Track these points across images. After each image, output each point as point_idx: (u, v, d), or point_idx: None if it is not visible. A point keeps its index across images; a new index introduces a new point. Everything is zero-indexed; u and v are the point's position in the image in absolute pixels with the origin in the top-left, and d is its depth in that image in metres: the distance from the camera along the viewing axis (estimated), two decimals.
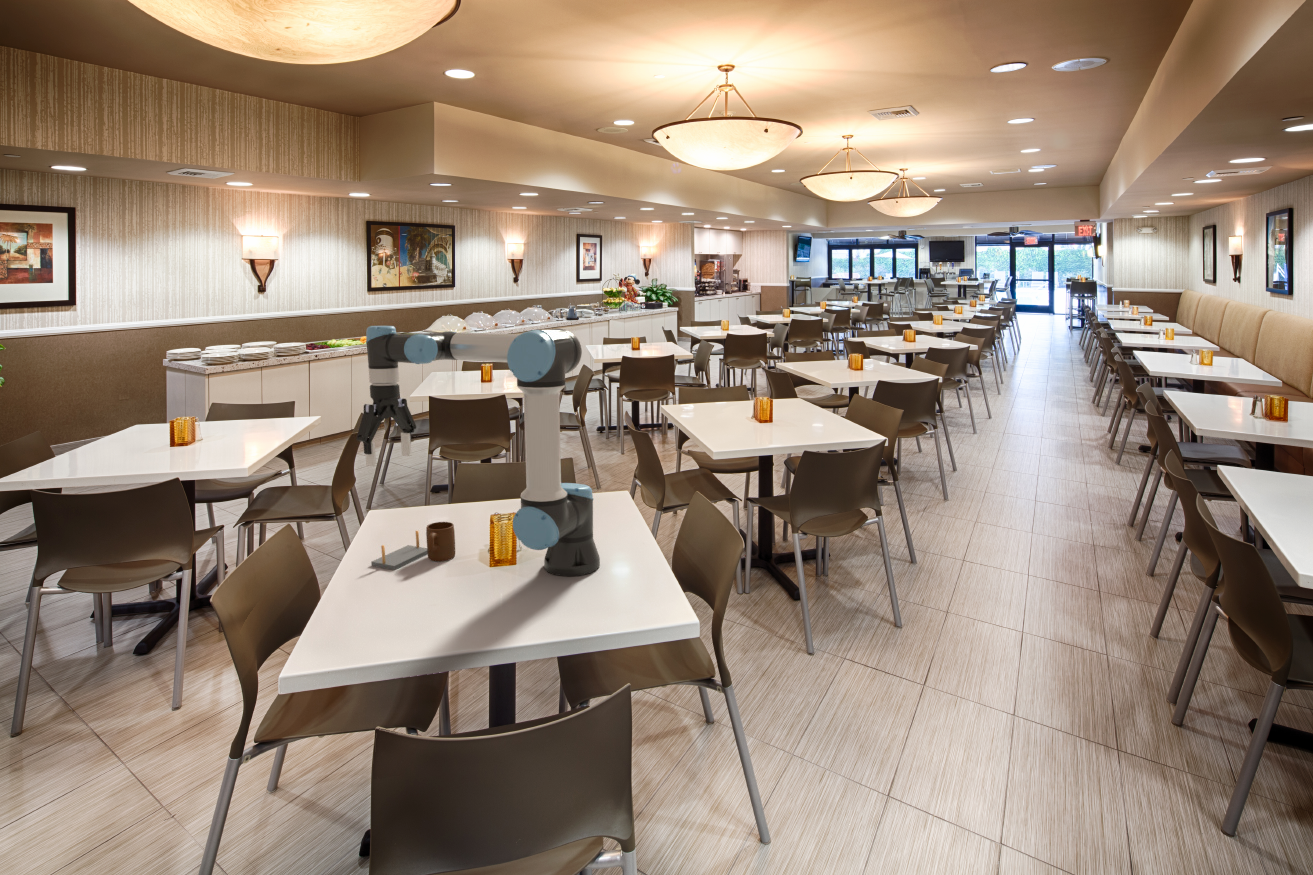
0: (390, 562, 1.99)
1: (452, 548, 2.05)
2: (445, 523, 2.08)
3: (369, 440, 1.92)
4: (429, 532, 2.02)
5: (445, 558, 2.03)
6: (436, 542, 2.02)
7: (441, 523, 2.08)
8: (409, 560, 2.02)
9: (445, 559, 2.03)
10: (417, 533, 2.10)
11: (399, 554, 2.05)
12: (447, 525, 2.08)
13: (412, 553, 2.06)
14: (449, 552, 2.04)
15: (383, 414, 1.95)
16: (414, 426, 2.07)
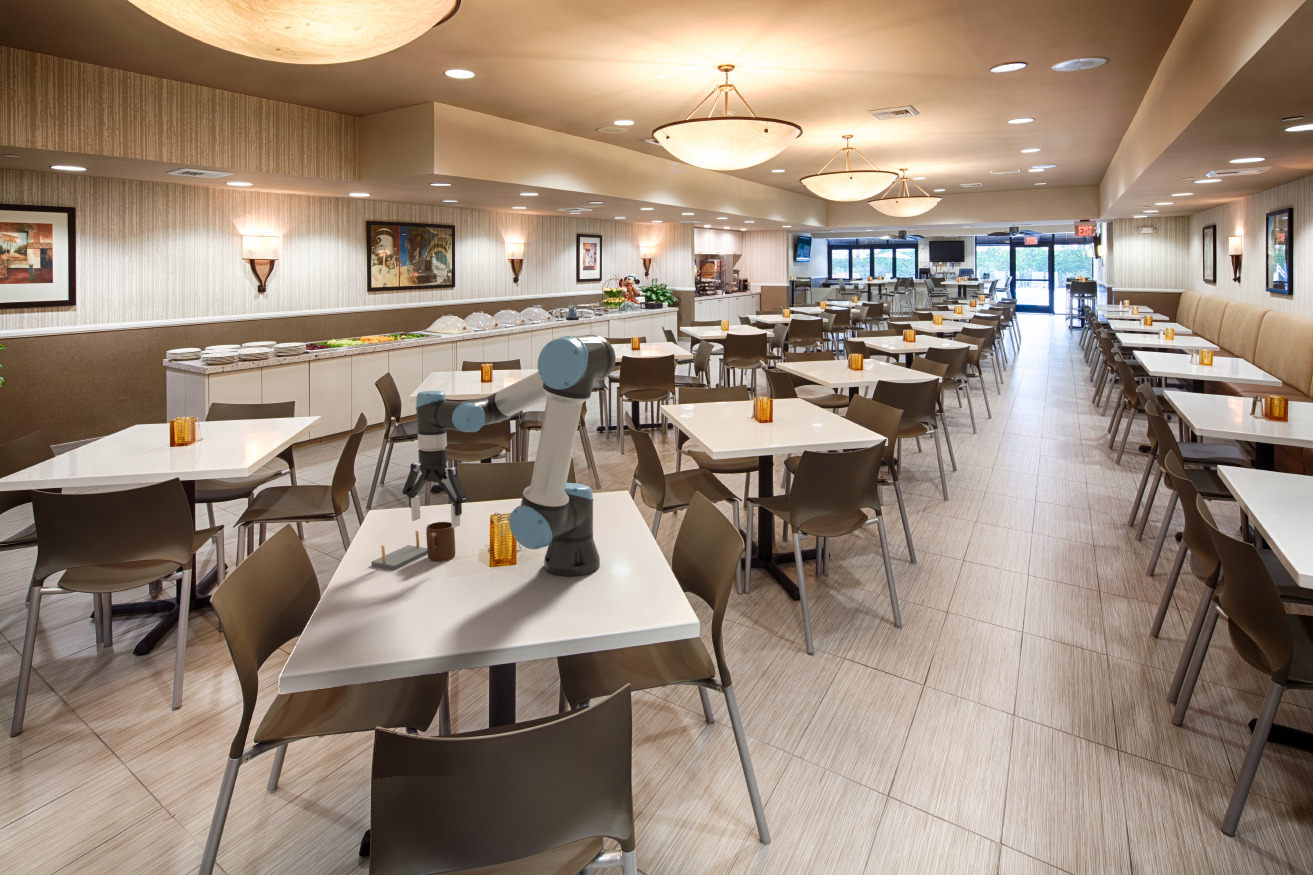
0: (390, 562, 1.99)
1: (452, 548, 2.05)
2: (445, 523, 2.08)
3: (408, 495, 2.03)
4: (429, 532, 2.02)
5: (445, 558, 2.03)
6: (436, 542, 2.02)
7: (441, 523, 2.08)
8: (409, 560, 2.02)
9: (445, 559, 2.03)
10: (417, 533, 2.10)
11: (399, 554, 2.05)
12: (447, 525, 2.08)
13: (412, 553, 2.06)
14: (449, 552, 2.04)
15: (421, 476, 1.99)
16: (459, 500, 1.96)
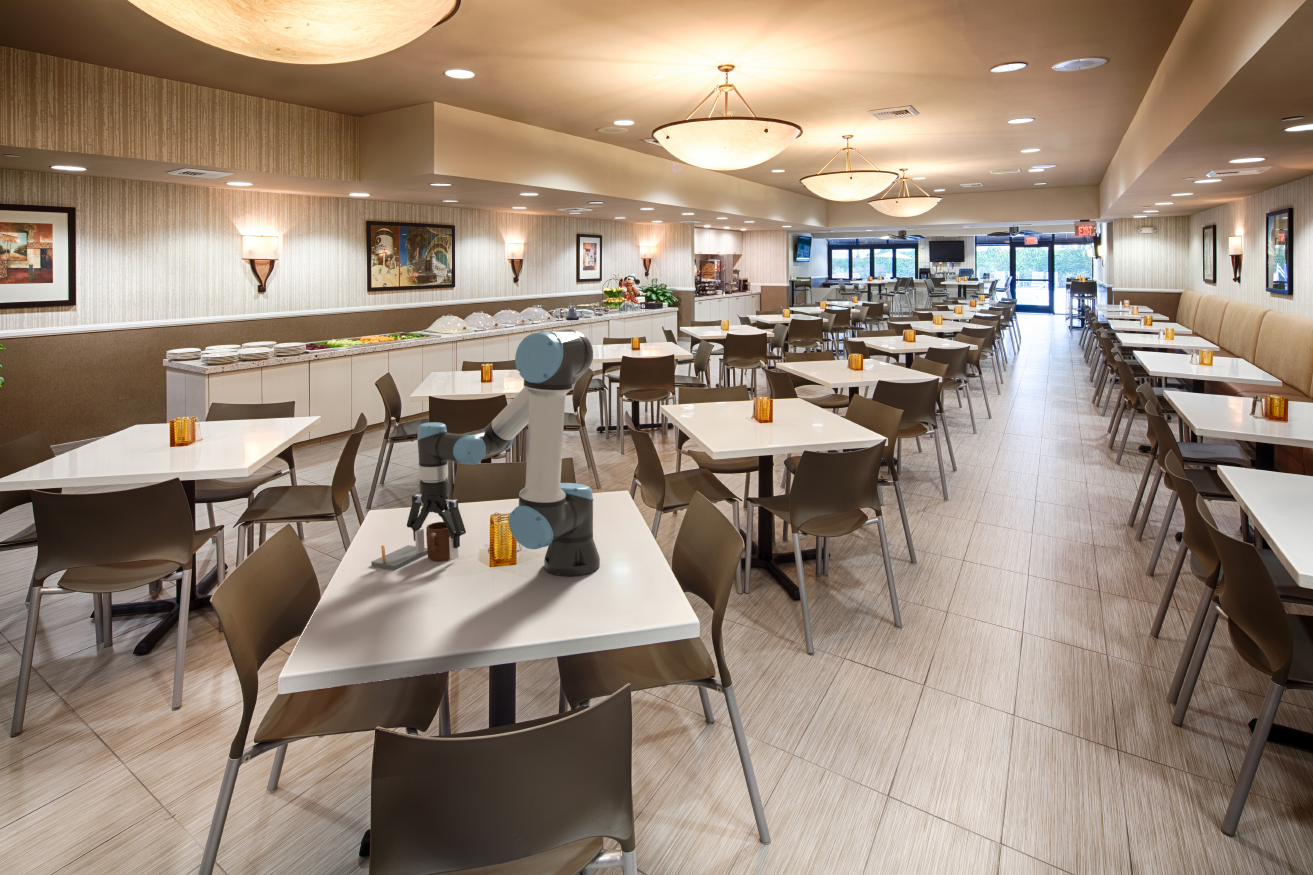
0: (390, 562, 1.99)
1: None
2: None
3: (412, 528, 2.04)
4: (429, 532, 2.02)
5: (445, 558, 2.03)
6: (436, 542, 2.02)
7: (441, 523, 2.08)
8: (409, 560, 2.02)
9: (445, 559, 2.03)
10: None
11: (399, 554, 2.05)
12: None
13: (412, 553, 2.06)
14: (449, 552, 2.04)
15: (423, 507, 2.01)
16: (458, 533, 1.98)
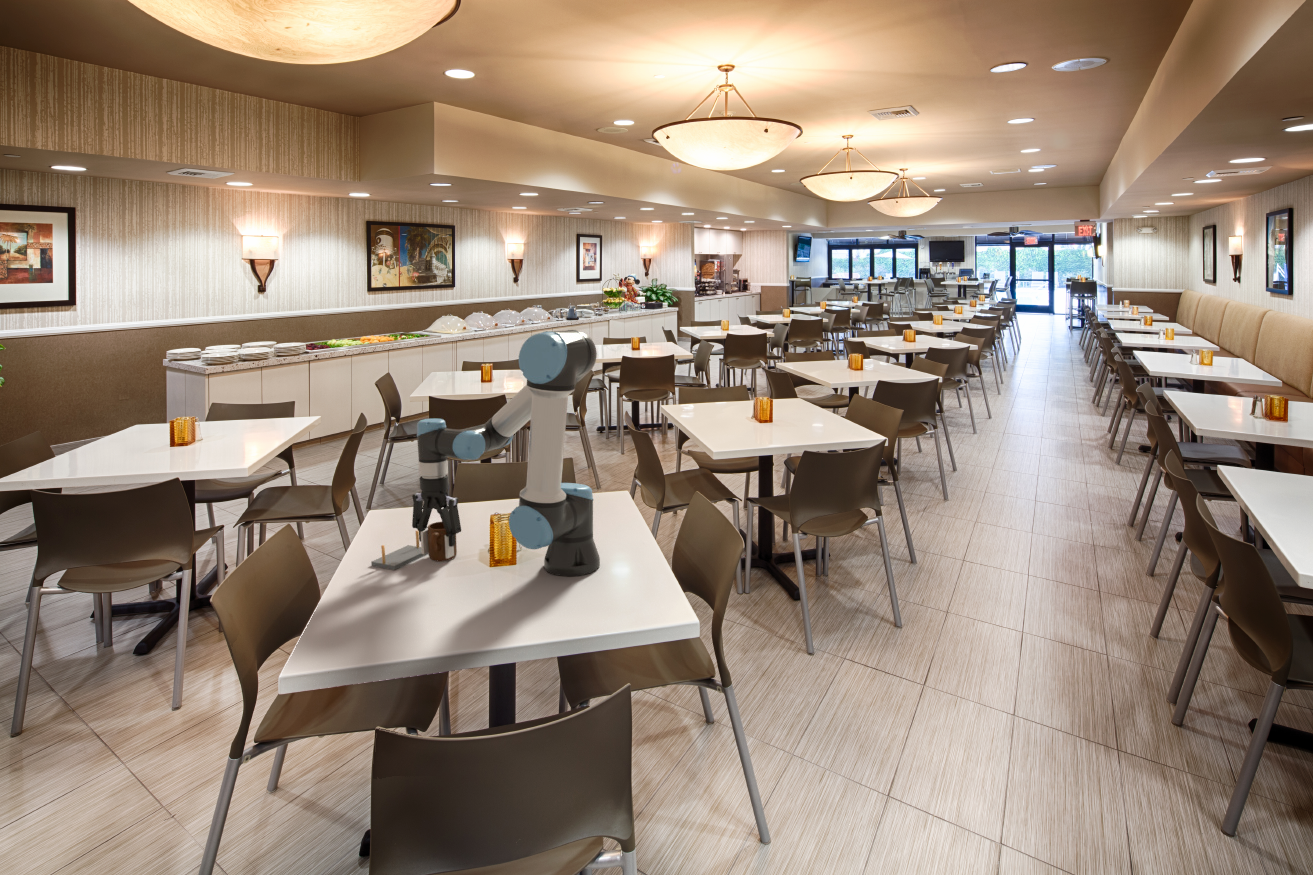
0: (390, 562, 1.99)
1: (454, 548, 2.05)
2: None
3: (418, 529, 2.04)
4: (430, 531, 2.02)
5: None
6: (438, 542, 2.02)
7: (442, 523, 2.08)
8: (409, 560, 2.02)
9: (447, 559, 2.03)
10: (417, 533, 2.10)
11: (399, 554, 2.05)
12: None
13: (412, 553, 2.06)
14: None
15: (424, 505, 2.01)
16: (453, 531, 1.99)
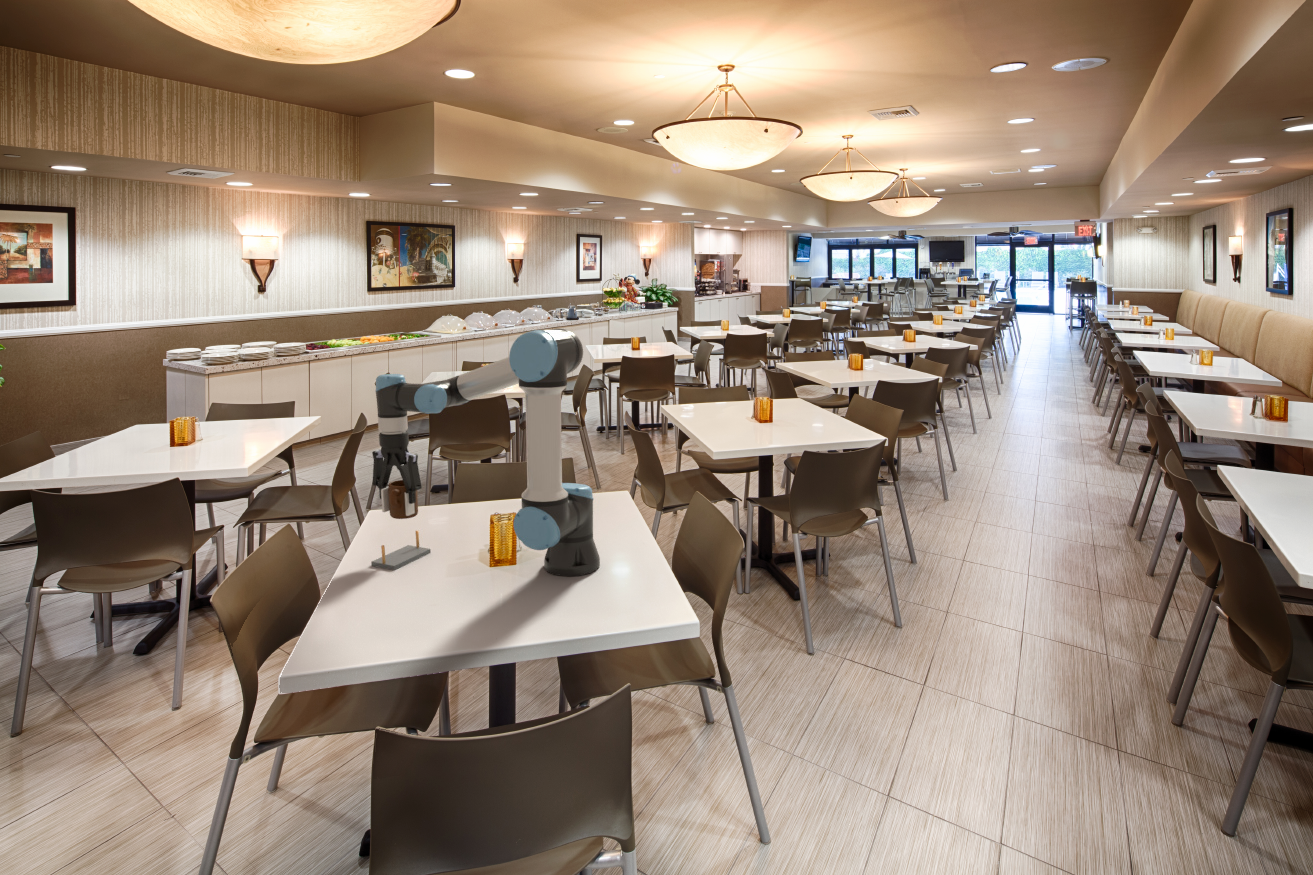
0: (390, 562, 1.99)
1: (415, 506, 2.03)
2: None
3: (378, 486, 2.02)
4: (391, 489, 2.00)
5: None
6: (398, 499, 2.00)
7: None
8: (409, 560, 2.02)
9: (407, 517, 2.02)
10: (417, 533, 2.10)
11: (399, 554, 2.05)
12: None
13: (412, 553, 2.06)
14: None
15: (384, 461, 1.99)
16: (413, 487, 1.97)
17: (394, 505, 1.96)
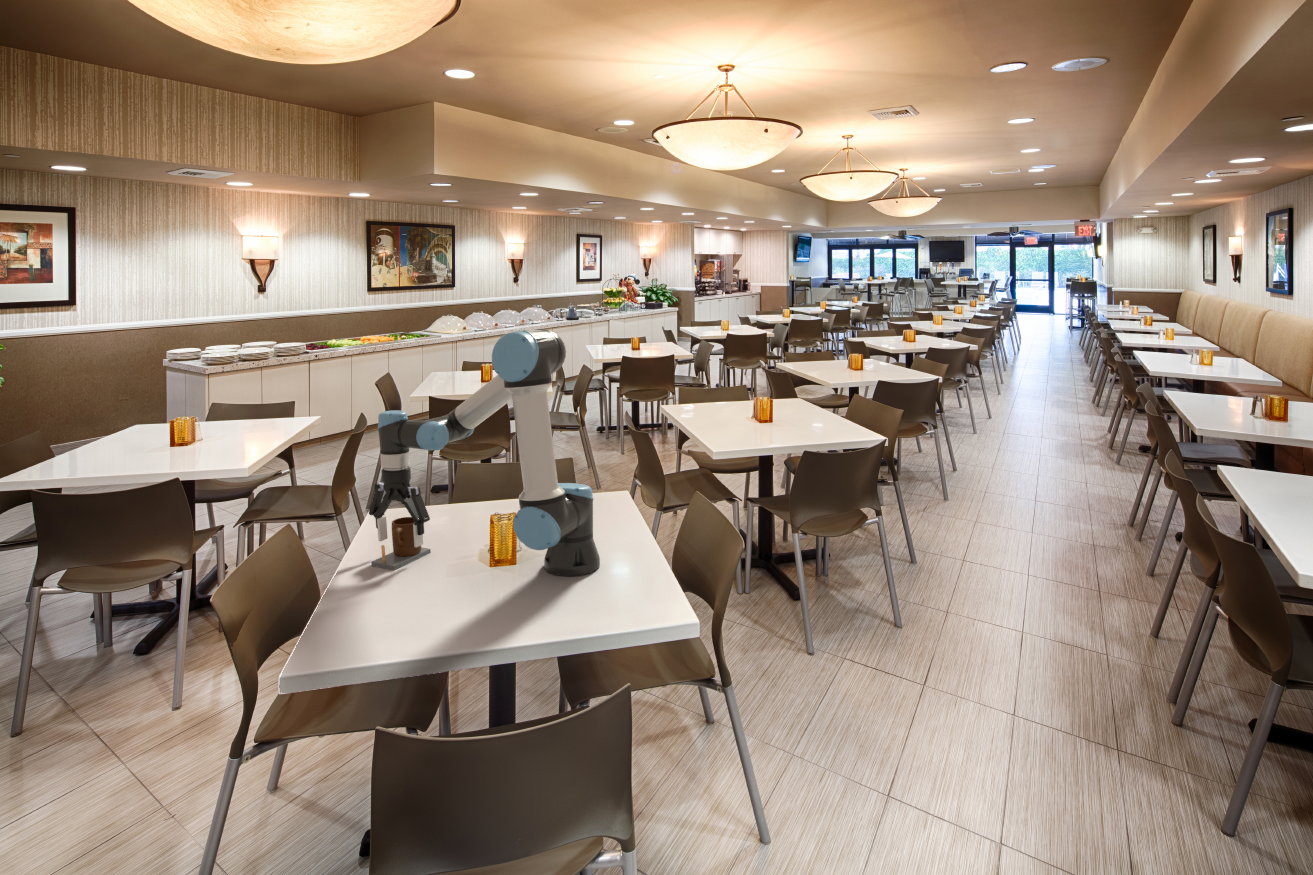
0: (390, 562, 1.99)
1: None
2: (410, 518, 2.08)
3: (374, 516, 2.04)
4: (394, 527, 2.02)
5: (411, 553, 2.03)
6: (402, 537, 2.02)
7: (406, 518, 2.08)
8: (409, 560, 2.02)
9: (411, 554, 2.04)
10: None
11: None
12: (413, 520, 2.08)
13: None
14: (415, 547, 2.04)
15: (385, 495, 2.01)
16: (421, 519, 1.98)
17: (397, 544, 1.98)
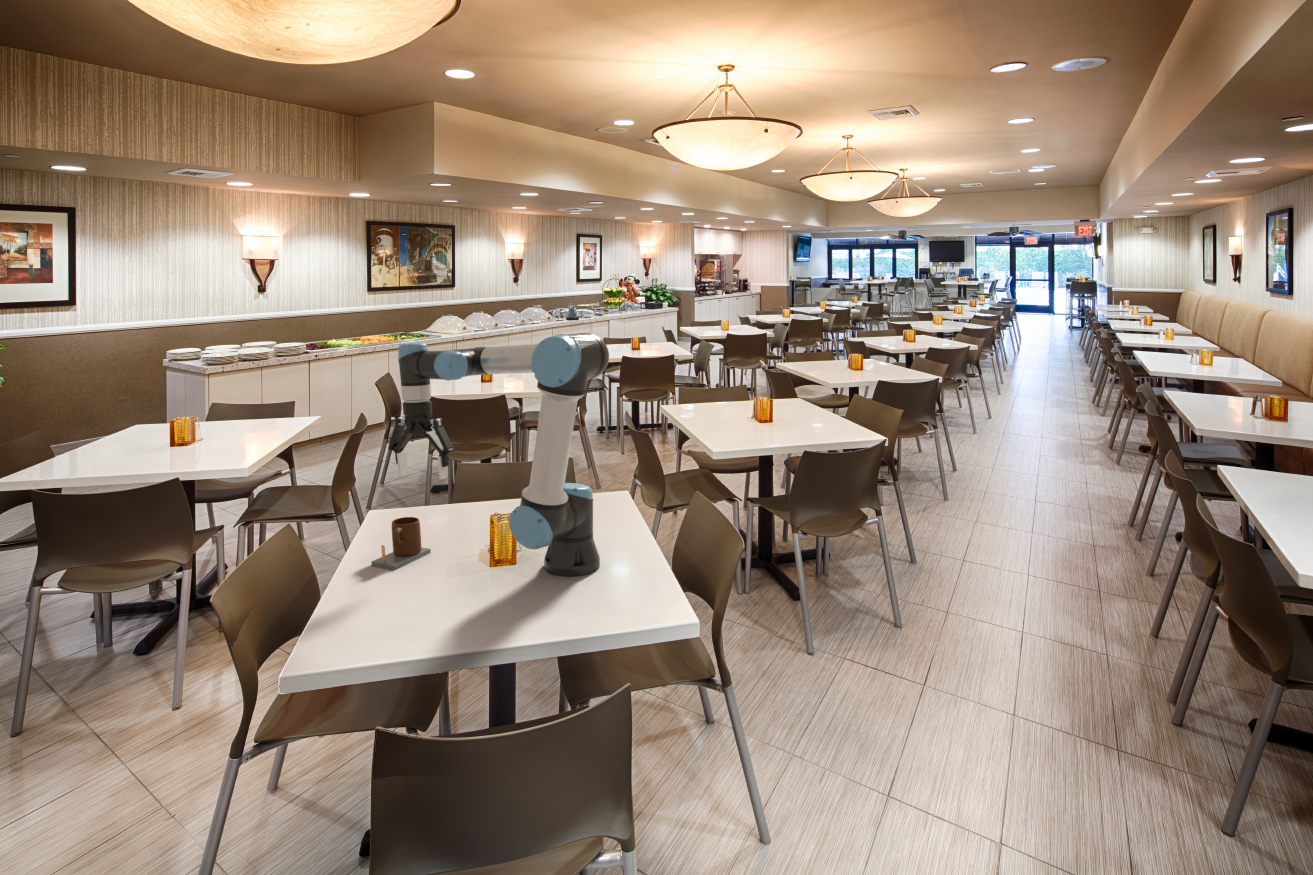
0: (390, 562, 1.99)
1: (418, 543, 2.05)
2: (410, 518, 2.08)
3: (394, 450, 2.02)
4: (394, 527, 2.02)
5: (411, 553, 2.03)
6: (402, 537, 2.02)
7: (406, 518, 2.08)
8: (409, 560, 2.02)
9: (411, 554, 2.04)
10: None
11: None
12: (413, 520, 2.08)
13: None
14: (415, 547, 2.04)
15: (406, 429, 1.99)
16: (446, 450, 1.96)
17: (397, 544, 1.98)
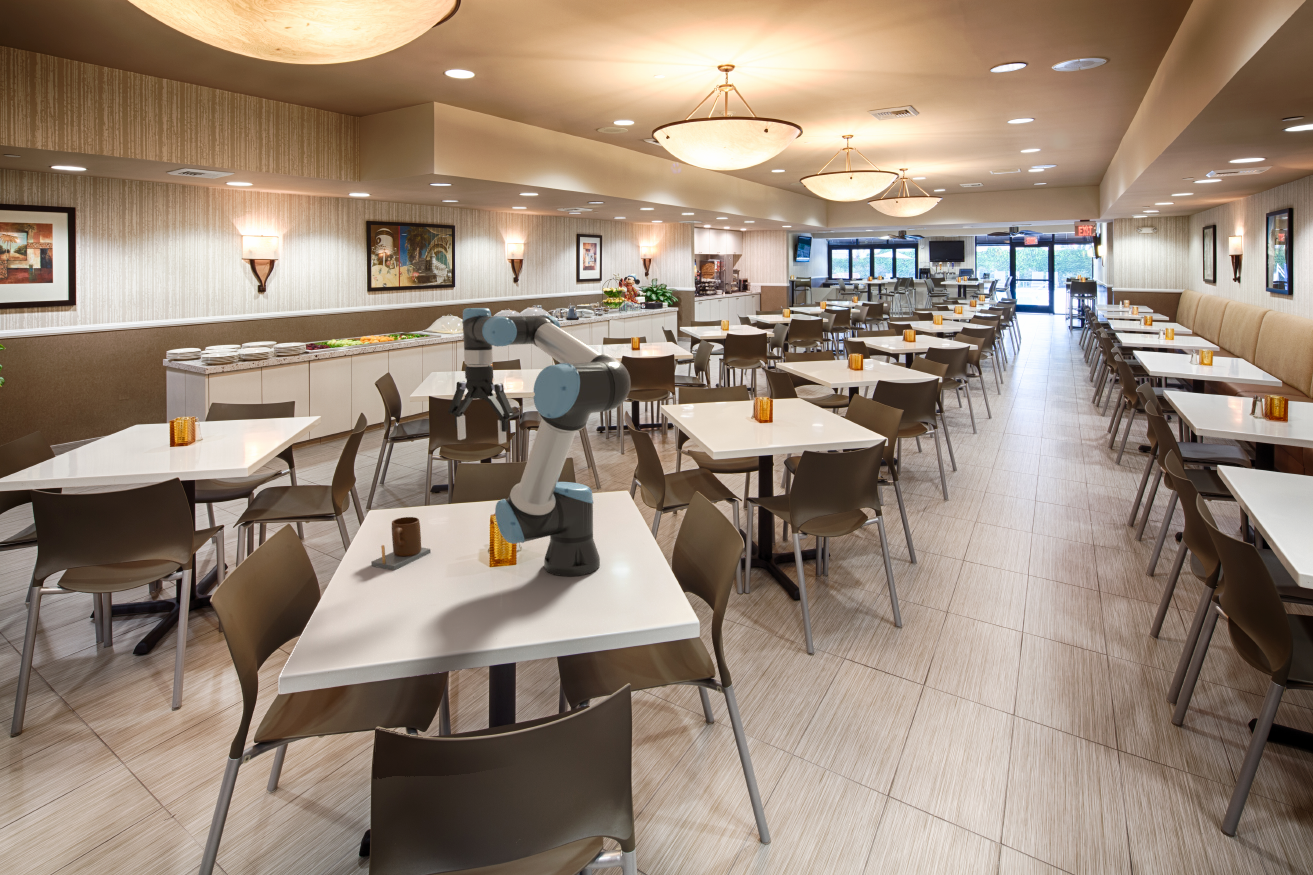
0: (390, 562, 1.99)
1: (418, 543, 2.05)
2: (410, 518, 2.08)
3: (454, 414, 2.05)
4: (394, 527, 2.02)
5: (411, 553, 2.03)
6: (402, 537, 2.02)
7: (406, 518, 2.08)
8: (409, 560, 2.02)
9: (411, 554, 2.04)
10: None
11: None
12: (413, 520, 2.08)
13: None
14: (415, 547, 2.04)
15: (467, 393, 2.01)
16: (506, 415, 1.98)
17: (397, 544, 1.98)
